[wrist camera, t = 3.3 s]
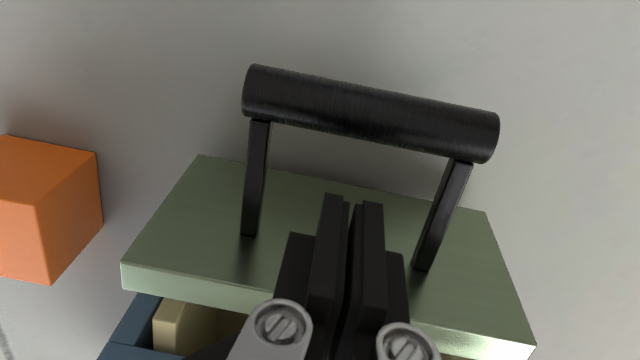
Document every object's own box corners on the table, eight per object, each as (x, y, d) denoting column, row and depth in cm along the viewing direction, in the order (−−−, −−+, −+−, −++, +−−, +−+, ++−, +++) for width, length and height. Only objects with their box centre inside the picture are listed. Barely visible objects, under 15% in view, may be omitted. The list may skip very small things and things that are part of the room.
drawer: (201, 14, 16) (100, 71, 10) (544, 84, 16) (649, 183, 10) (191, 362, 26) (140, 491, 20) (396, 403, 26) (403, 543, 20)
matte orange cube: (3, 133, 20) (-81, 182, 16) (95, 152, 20) (33, 205, 16) (20, 209, 22) (-50, 267, 19) (104, 226, 23) (51, 287, 19)
